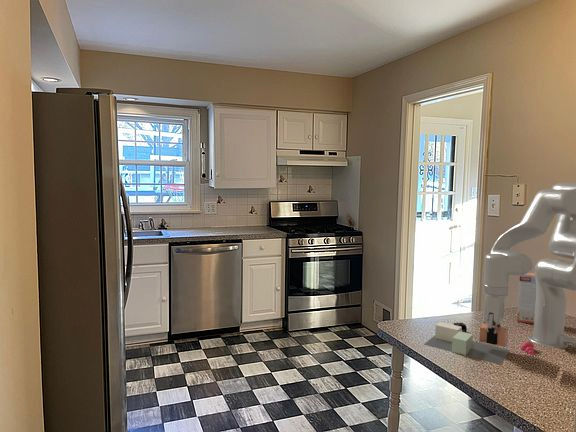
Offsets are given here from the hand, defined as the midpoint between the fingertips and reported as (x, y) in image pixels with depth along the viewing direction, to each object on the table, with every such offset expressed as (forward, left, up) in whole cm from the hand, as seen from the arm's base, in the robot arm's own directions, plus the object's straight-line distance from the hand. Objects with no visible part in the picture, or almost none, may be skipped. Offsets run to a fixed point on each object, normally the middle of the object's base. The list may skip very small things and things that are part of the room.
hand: (493, 340), depth 145 cm
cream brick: (+15, 0, -3) cm, 16 cm away
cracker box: (-7, -46, -5) cm, 47 cm away
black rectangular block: (+15, -11, -5) cm, 19 cm away
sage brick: (+8, +7, -3) cm, 11 cm away
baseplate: (+8, +3, -4) cm, 10 cm away
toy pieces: (-12, -4, -5) cm, 13 cm away
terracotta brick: (0, 0, 0) cm, 0 cm away
